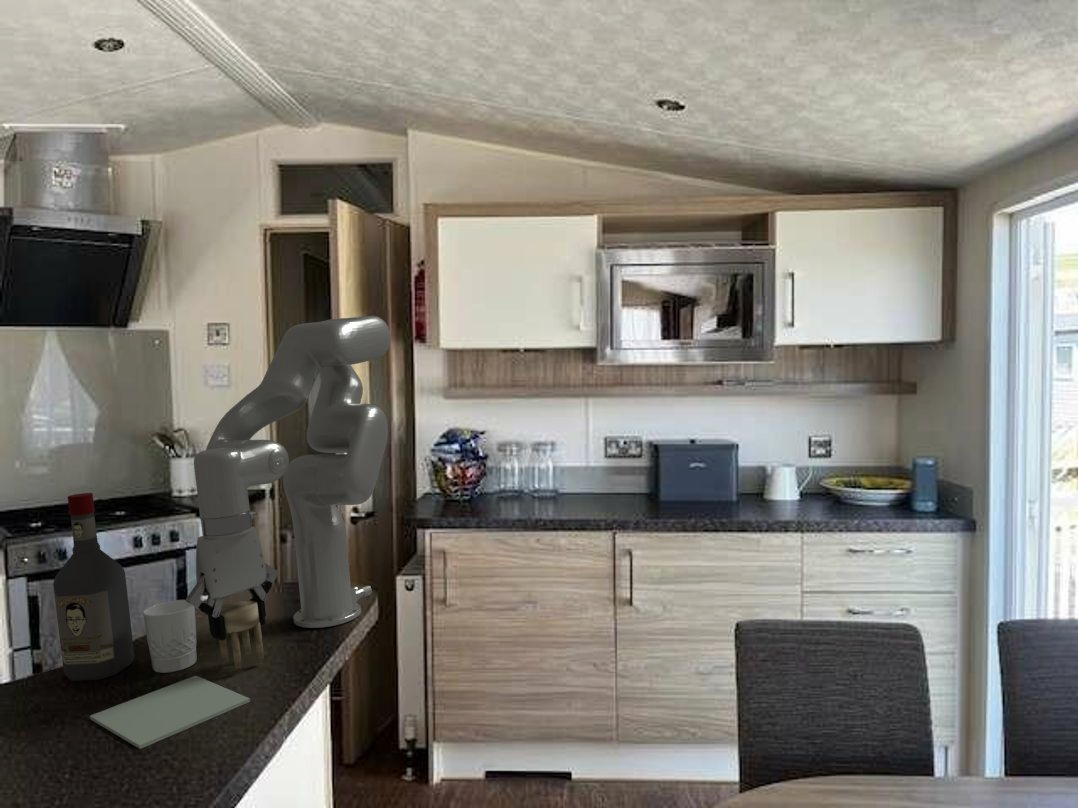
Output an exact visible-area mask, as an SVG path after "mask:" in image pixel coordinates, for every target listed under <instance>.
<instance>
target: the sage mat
mask: <svg viewBox="0 0 1078 808" xmlns="http://www.w3.org/2000/svg"><path fill="white" fill-rule="evenodd" d="M248 703H251V699H250V697H248V696H245V695H243V694H240V693H238V692H236V691H234V690H231V689H229V688H226V687H223V686H221V685H219V684H217V683H214V682H212V681H210V680H207V679H205V678H202V677H200V676H198V675H194V676H191V677H188V678H185V679H182V680H180V681H177V682H176V683H173V684H170V685H167V686H165V687H162V688H159V689H157V690H154V691H151V692H148V693H147V694H143V695H140V696H138V697H136V698H135V697H134V698H133V699H130V700H128V701H125V702H122V703H120V704H117V705H115V706H112V707H109V708H107V709H105V710H102V711H100V712H96V713H93V714H91V715H89V720H91V721H92V722H94V723H96V724H97V725H99V726H101V727H103V728H105V729H106V730H107V731H110V733H113V734H114V735H116V736H118V737H120V739H122V740H124V741H126V742H128V743H129V744H131V745H132V746H134V747H136V748H137V749H139V750H140V749H143V748H146V747H148V746H150V745H152V744H155V743H157V742H160V741H162V740H164V739H166V738H169V737H171V736H174V735H176V734H178V733H181V732H183V731H185V730H188V729H190V728H192V727H194V726H197V725H199V724H202V723H204V722H206V721H209V720H211V719H213V718H216V717H217V716H220V715H223V714H224V713H227V712H230V711H232V710H234V709H236V708H239V707H240V706H243V705H246V704H248Z"/></svg>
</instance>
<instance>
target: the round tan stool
mask: <svg viewBox="0 0 1078 808" xmlns="http://www.w3.org/2000/svg"><path fill="white" fill-rule="evenodd" d="M220 615H222V616H223V617H224V623H225V631H226V634H230V639H231V648H232V649H231V650H232V657H233V664H234V669H235V670H238V669H242V667H243V663H242V656H241V655H242V654H241V646H240V638H239V633H240V632H241V639H242V646H243V647H242V648H243V654H244V655H250V654H251V653H252V647H251V641H250V633H249V632H250V631H249V629H253V635H254V643H255V651H256V658H257V660H263V659H264V658H265V653H264V651H265V650H264V645H263V636H262V628H261V627H262V625H260V622H259V614H258V605H257V602H255V601H250V600H238V601H234V602H230V603H227V604H224V605H223V604H222V607H221V611H220ZM218 642H219V651H220V658H221V664H228V663H229V662H230V657H229V649H228V642H227V637H226V638H225V640H222V641H221V640H219V639H218Z"/></svg>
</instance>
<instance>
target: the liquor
mask: <svg viewBox="0 0 1078 808" xmlns="http://www.w3.org/2000/svg"><path fill="white" fill-rule="evenodd" d="M67 504H68V505H67V506H68V513H69V516H70V522H71V531H72V541H73V547H72V550H71V551H72V553H71V555H70V557H69V558H68V559H67V560H66V562H65V563H64V564H63V566H62V567H61V569H59V571H58V572H57V573H56V575H55V576H54V580H53V583H52V584H53V585H52V586H53V592H54V593H53V595H54V600H55V601H54V602H55V611H56V619H57V627H58V635H59V643H60V645H59V646H60V651H61V661H62V668H63V669H62V671H63V673H64V675H65V676H66V677H67V678H68V679H69V680H70V682H75V681H76V682H77V681H97V680H102V679H106V678H109V677H112V676H116V675H118V674H119V673H120V672H121V671H123V670H124V669H126V668H127V667H129V666H130V665H131V664H132V663H133V661H134V659H135V651H134V642H133V641H134V640H133V632H132V625H131V624H132V623H131V614H130V605H129V596H128V588H127V579H126V572H125V569H124V568H123V566H122V565H121V564H120V563H119V562H118V561H116V560H115V559H114V558H112V557H111V556H110V555H108V554H107V553H105V552H104V551H103V550H102V549H101V545H100V543H99V540H98V535H97V527H96V519H95V513H94V512H96V510H95V504H94V493H93V492H85V493H84V492H82V493H76V494H72V495H68V496H67Z"/></svg>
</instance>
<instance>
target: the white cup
mask: <svg viewBox="0 0 1078 808" xmlns="http://www.w3.org/2000/svg"><path fill="white" fill-rule="evenodd" d="M142 616H143V621H144V628H145V634H146V640H147V644H148V650H149V654H150V658H151V666H152V670H153V671H154V672H155V673H162V674H164V673H165V674H166V673H174V672H178V671H182V670H184V669H187V668H190V667H191V666H192V665H195V664H196V662H197V660H198V659H197V658H198V656H197V626H196V624H197V623H196V608H195V607H194V606H192V605H190V604H189V603H187V602H186V599H176V600H174V599H173V600H170V601H164V602H160V603H157V604H153V605H150V606H149V607H147V608H146V609H144V610H143V611H142Z"/></svg>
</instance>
